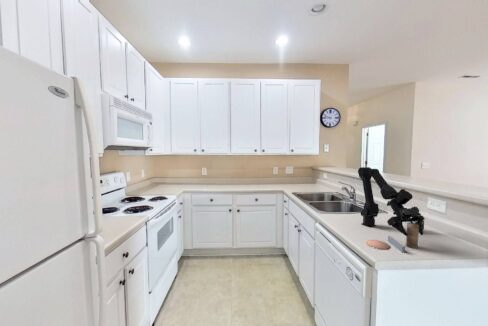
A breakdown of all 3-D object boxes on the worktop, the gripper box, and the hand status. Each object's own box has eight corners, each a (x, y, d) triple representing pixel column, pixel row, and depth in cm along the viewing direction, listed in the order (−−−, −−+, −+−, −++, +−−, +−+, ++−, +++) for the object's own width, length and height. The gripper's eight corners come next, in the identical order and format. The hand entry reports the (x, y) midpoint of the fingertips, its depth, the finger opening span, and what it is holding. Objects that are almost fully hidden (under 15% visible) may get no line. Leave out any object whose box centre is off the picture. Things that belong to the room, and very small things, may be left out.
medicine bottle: (415, 232, 142) (416, 213, 141) (404, 228, 148) (405, 210, 148) (423, 231, 143) (425, 212, 143) (412, 227, 150) (413, 209, 149)
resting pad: (364, 239, 131) (364, 238, 131) (386, 242, 127) (386, 241, 127) (367, 247, 121) (367, 246, 121) (391, 250, 117) (391, 249, 117)
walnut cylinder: (403, 245, 124) (404, 223, 123) (409, 243, 126) (410, 222, 125) (413, 249, 119) (415, 226, 118) (419, 247, 121) (421, 225, 120)
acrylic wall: (387, 241, 129) (387, 235, 129) (389, 241, 129) (390, 235, 129) (402, 252, 115) (402, 246, 115) (404, 252, 115) (404, 246, 115)
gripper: (392, 201, 123) (408, 229, 113) (422, 200, 126) (441, 227, 116) (380, 212, 132) (395, 238, 122) (409, 210, 134) (426, 236, 124)
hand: (414, 235), depth 121 cm, fingers open, 9 cm apart
